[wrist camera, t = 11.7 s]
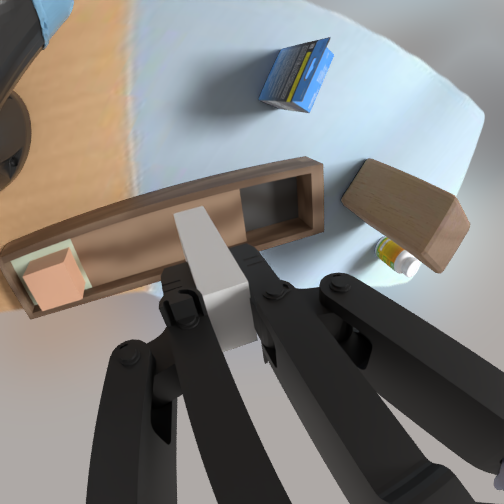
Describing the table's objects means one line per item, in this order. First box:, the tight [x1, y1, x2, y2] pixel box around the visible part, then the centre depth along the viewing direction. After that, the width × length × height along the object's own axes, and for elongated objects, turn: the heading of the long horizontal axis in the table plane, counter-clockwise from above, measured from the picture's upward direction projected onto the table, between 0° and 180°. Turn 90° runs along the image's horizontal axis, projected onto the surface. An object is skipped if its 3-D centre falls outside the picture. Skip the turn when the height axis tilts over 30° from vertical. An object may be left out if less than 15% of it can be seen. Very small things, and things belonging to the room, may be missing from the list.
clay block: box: [23, 247, 86, 311], centre depth 34 cm, size 6×7×4 cm
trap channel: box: [0, 156, 324, 319], centre depth 39 cm, size 11×48×5 cm, turn 98°
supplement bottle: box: [375, 236, 420, 277], centre depth 56 cm, size 5×5×10 cm
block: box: [341, 159, 470, 273], centre depth 43 cm, size 10×10×20 cm
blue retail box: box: [258, 37, 334, 113], centre depth 31 cm, size 9×4×12 cm, turn 157°
